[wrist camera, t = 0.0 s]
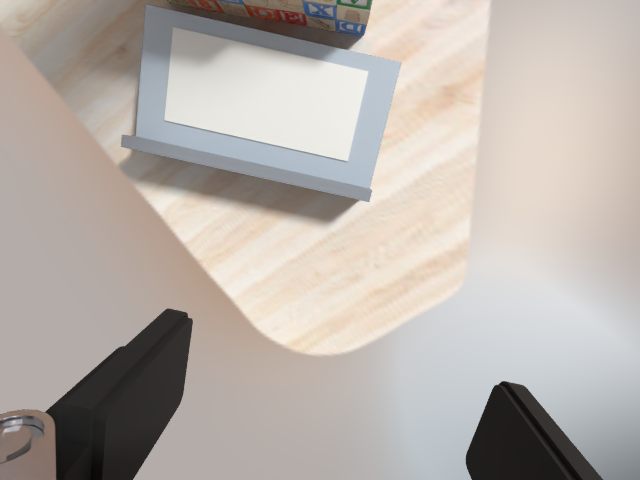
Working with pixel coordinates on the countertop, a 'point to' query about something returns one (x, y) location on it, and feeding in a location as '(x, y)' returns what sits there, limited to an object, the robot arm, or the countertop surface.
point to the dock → (261, 103)
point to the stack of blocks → (296, 12)
